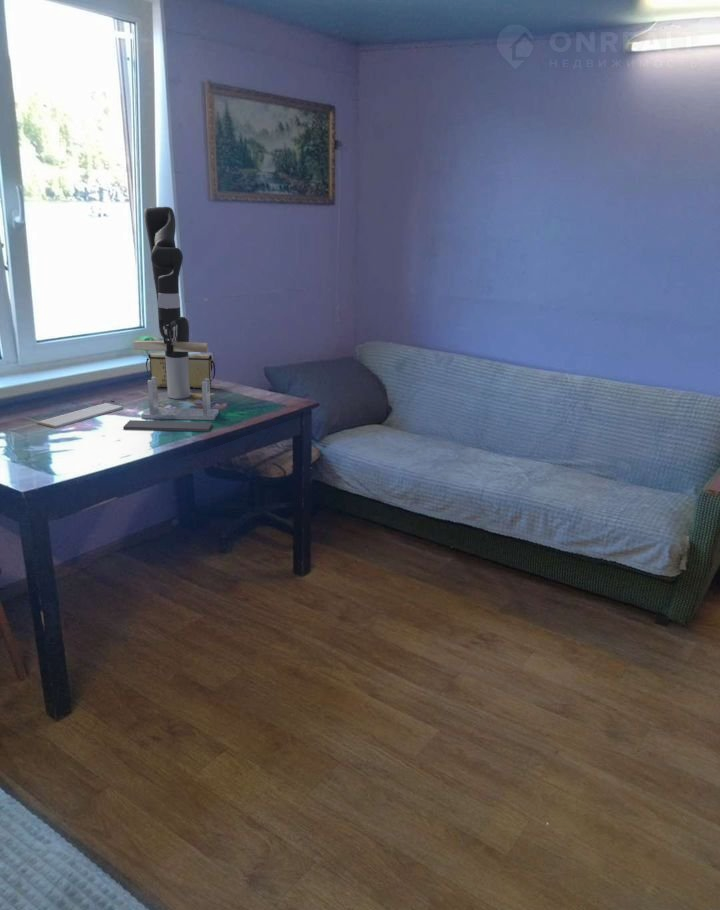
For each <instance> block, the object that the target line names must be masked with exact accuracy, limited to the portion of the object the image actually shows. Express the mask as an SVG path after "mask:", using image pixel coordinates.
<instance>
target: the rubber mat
mask: <svg viewBox="0 0 720 910" xmlns="http://www.w3.org/2000/svg"><path fill="white" fill-rule="evenodd" d="M212 426H213V422H207V421H206V422H205V421H201V422H200V421H176V420H175V421H173V420H171V421H170V420H169V421H168V420H167V421H166V420H136V419H134V420H133V419H132V420H131V419H130V420H128V421H127V422H126V423H125V425H123V430H126V431H127V430H131V431H132V430H134V431H135V430H136V431H165V432H166V431H168V432H172V431H174V432H202V433H203V432H207V433H208V432H209V431H210V429H211V428H212Z"/></svg>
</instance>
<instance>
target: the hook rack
mask: <svg viewBox="0 0 720 910" xmlns="http://www.w3.org/2000/svg"><path fill="white" fill-rule="evenodd" d="M204 381H205V382H202V388H201V398H202V401H201V402H202V408H189V407H188V408H187V407H159V396H158V395H159V394H158V387H157V377H152V378H151V377H150V379H148V380H147V393H148V395H147V396H148V407H147V408H146V409H145V410H144V411H143V412H142V413H141V415H140V416H141V419H151V420H153V419H154V420H186V421H187V420H188V421H215V420H216V418H217V416H218V415H219V408H218V409H217V408H211V388H210V380H209V379H208V378H205V379H204Z"/></svg>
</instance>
